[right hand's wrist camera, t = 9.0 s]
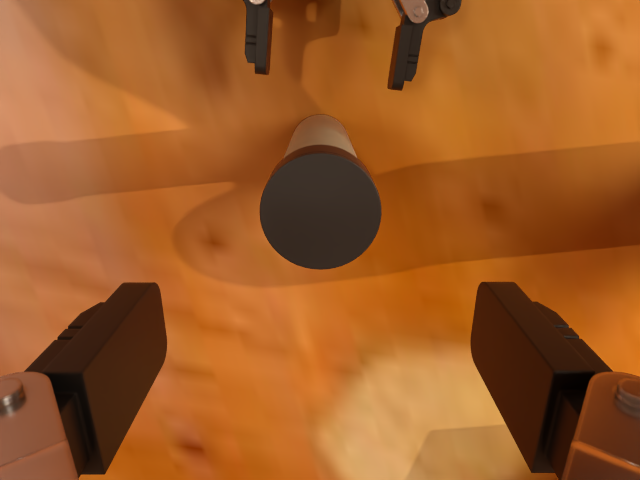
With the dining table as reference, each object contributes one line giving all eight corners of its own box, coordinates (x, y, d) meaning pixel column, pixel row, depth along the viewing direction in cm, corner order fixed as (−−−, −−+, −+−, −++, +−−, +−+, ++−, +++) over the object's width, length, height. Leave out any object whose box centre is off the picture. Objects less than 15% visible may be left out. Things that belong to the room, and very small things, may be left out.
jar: (359, 133, 36) (395, 192, 19) (329, 182, 38) (338, 277, 21) (310, 103, 36) (300, 136, 18) (281, 153, 37) (247, 228, 20)
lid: (396, 180, 21) (405, 193, 19) (338, 268, 22) (340, 289, 20) (300, 122, 20) (297, 128, 18) (246, 217, 21) (238, 234, 19)
